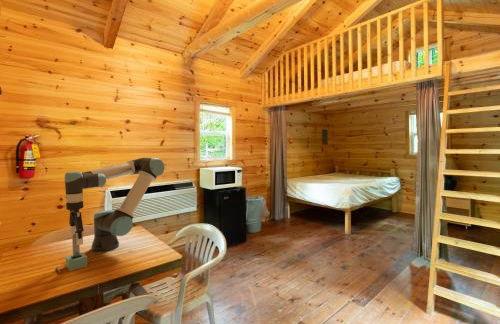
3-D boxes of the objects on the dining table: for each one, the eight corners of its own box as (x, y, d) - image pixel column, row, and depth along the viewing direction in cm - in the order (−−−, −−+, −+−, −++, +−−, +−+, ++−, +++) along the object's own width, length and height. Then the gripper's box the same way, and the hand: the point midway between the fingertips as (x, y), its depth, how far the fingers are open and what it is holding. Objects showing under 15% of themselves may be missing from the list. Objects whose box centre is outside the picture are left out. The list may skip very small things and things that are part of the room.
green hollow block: (66, 265, 139) (65, 256, 138) (83, 261, 144) (83, 252, 144) (69, 270, 133) (69, 261, 133) (87, 266, 139) (87, 256, 138)
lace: (55, 268, 135) (55, 266, 135) (58, 268, 136) (58, 266, 136) (58, 273, 130) (58, 271, 130) (60, 273, 130) (60, 271, 130)
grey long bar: (72, 265, 139) (71, 233, 138) (79, 264, 141) (78, 232, 140) (73, 267, 136) (72, 235, 136) (80, 266, 139) (79, 233, 138)
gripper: (61, 199, 143) (63, 237, 145) (71, 206, 125) (73, 249, 127) (77, 197, 148) (79, 233, 150) (89, 203, 131) (91, 245, 132)
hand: (76, 241), depth 138 cm, fingers open, 13 cm apart
